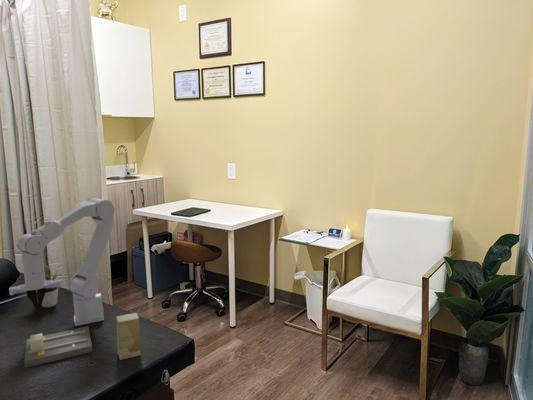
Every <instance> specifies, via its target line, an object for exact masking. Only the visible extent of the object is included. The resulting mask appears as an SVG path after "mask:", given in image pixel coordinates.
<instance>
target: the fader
mask: <svg viewBox="0 0 533 400" xmlns="http://www.w3.org/2000/svg"><path fill="white" fill-rule="evenodd" d="M43 336H44V334H43V333H42V332H41V333H37V334H31V335H30V338H29V339H30V347H31V351H33V350H38V349H42V348H43Z"/></svg>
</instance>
